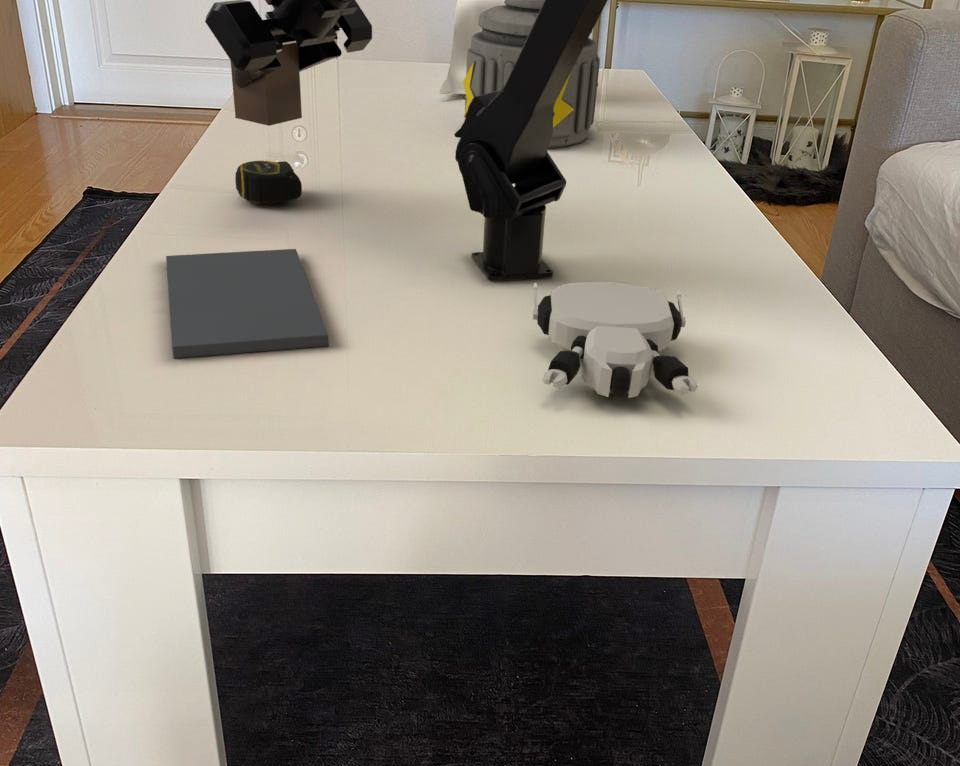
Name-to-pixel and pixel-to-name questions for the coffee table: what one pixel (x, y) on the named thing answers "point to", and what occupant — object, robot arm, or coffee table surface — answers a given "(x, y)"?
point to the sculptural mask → (464, 41)
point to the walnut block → (271, 92)
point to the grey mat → (241, 303)
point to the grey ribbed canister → (498, 57)
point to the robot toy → (612, 337)
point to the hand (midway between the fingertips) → (256, 80)
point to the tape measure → (267, 182)
